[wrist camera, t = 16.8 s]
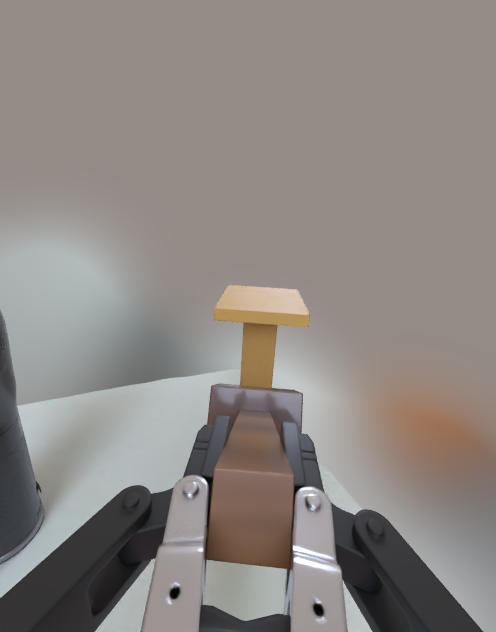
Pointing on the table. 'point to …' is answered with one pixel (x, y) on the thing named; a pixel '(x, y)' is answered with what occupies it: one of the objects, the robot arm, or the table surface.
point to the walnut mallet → (253, 477)
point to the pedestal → (260, 325)
